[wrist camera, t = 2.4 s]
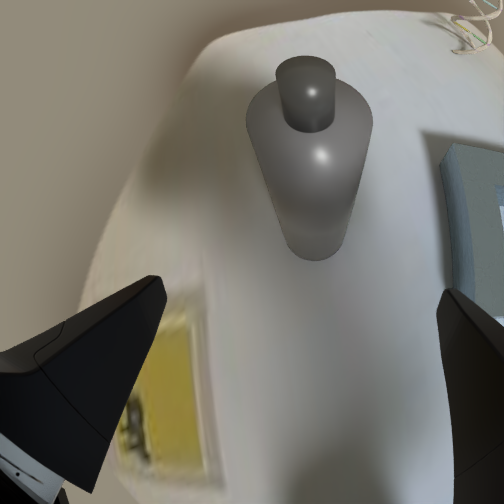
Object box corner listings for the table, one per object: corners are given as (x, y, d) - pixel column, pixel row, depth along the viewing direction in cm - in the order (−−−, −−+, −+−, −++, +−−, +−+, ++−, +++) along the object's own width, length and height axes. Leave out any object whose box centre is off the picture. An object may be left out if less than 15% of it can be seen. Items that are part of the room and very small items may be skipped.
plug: (311, 273, 21) (301, 157, 7) (272, 228, 22) (204, 78, 8) (356, 234, 21) (408, 81, 7) (316, 192, 22) (306, 23, 8)
